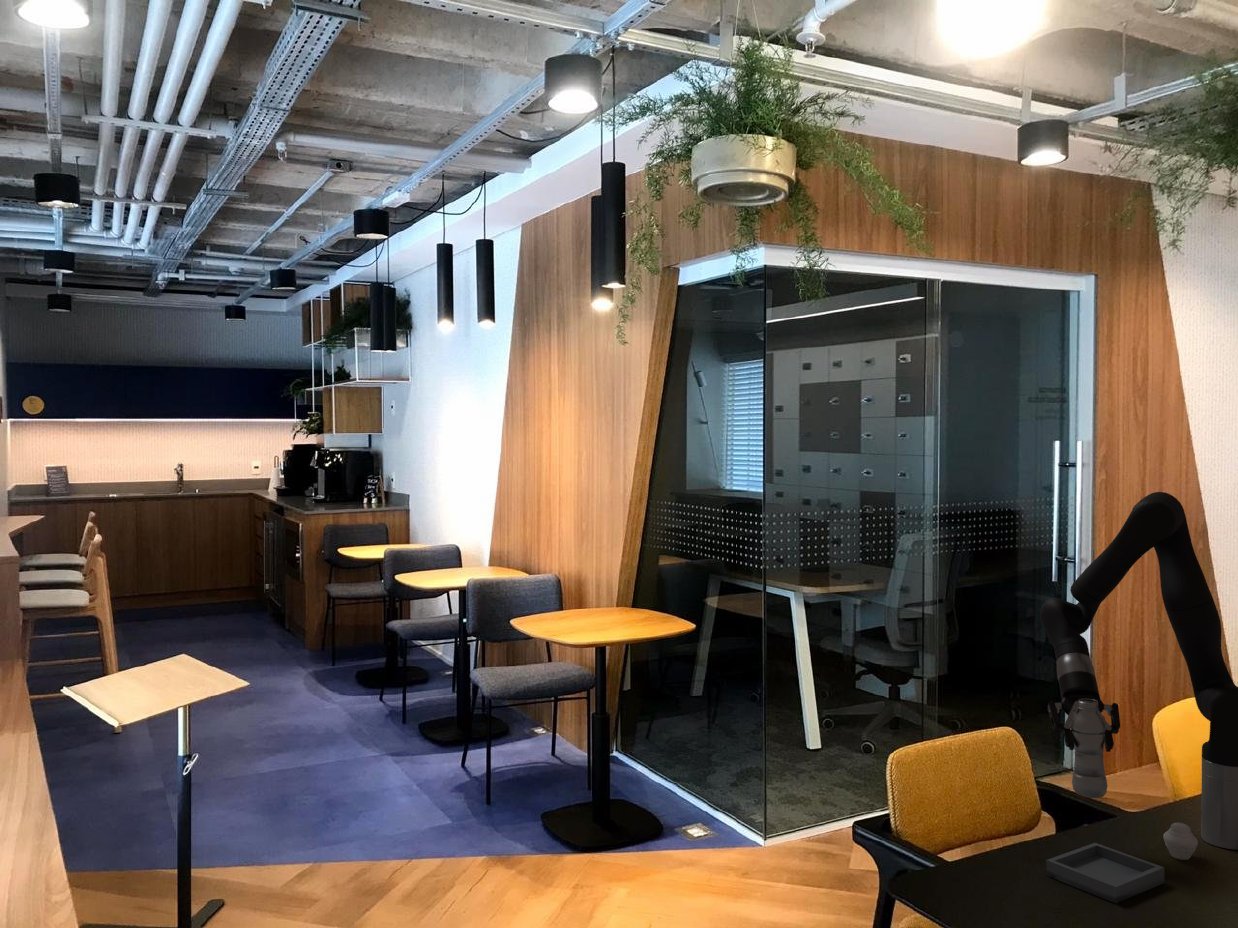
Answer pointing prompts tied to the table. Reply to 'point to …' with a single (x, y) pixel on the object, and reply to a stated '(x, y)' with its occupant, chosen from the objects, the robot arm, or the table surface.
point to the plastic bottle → (1088, 750)
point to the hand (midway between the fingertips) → (1090, 748)
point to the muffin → (1180, 841)
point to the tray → (1105, 872)
